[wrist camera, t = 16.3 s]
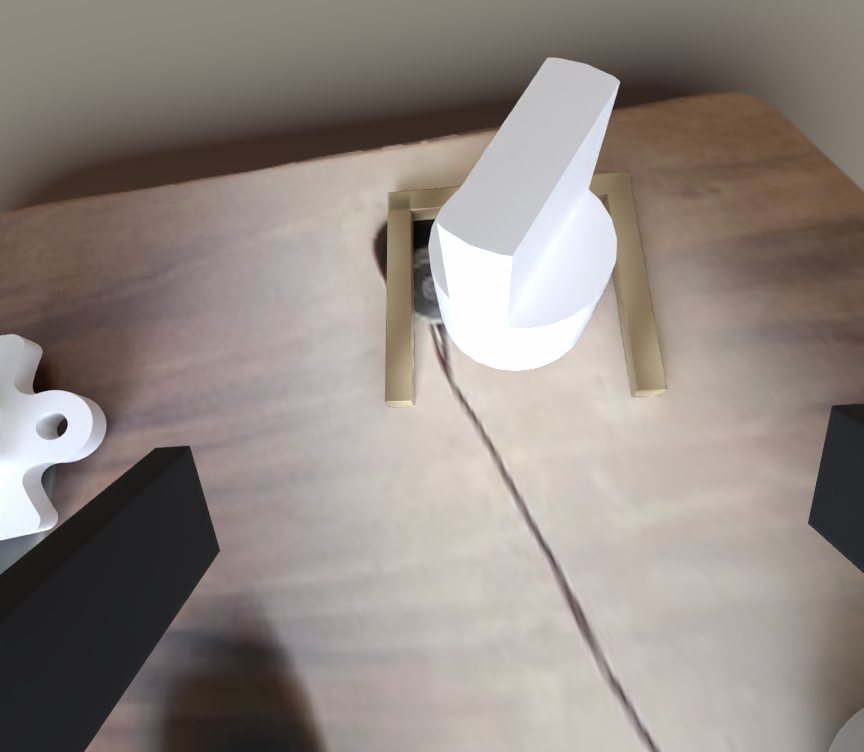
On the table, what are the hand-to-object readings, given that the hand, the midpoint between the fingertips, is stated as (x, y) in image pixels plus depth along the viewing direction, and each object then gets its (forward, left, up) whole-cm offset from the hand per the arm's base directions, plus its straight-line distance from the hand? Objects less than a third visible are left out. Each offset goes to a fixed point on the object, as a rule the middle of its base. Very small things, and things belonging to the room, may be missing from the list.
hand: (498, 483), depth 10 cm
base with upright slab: (0, +12, -16) cm, 20 cm away
